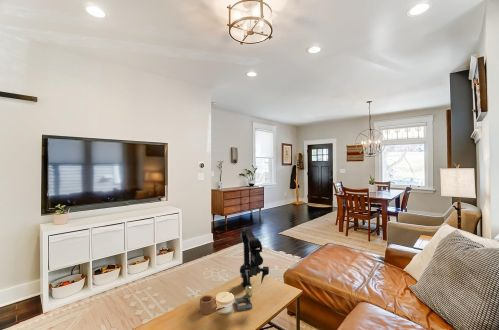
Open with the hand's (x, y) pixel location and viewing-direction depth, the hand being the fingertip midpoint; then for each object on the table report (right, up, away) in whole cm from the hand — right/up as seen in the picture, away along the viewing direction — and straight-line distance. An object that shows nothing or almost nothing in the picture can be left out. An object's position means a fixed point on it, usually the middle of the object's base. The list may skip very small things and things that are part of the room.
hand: (254, 282), depth 150 cm
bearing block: (-7, -13, -3) cm, 15 cm away
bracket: (-26, -14, -4) cm, 30 cm away
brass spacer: (-4, -13, +9) cm, 16 cm away
